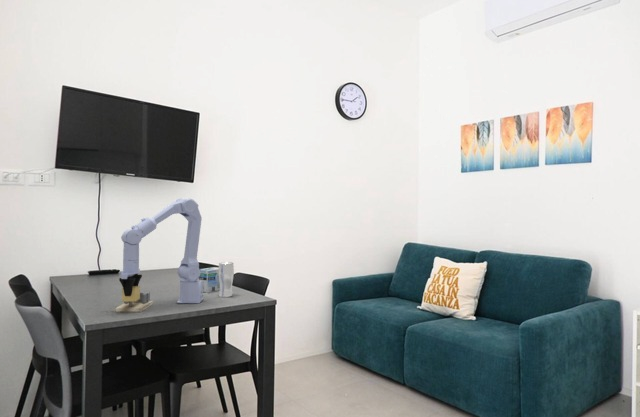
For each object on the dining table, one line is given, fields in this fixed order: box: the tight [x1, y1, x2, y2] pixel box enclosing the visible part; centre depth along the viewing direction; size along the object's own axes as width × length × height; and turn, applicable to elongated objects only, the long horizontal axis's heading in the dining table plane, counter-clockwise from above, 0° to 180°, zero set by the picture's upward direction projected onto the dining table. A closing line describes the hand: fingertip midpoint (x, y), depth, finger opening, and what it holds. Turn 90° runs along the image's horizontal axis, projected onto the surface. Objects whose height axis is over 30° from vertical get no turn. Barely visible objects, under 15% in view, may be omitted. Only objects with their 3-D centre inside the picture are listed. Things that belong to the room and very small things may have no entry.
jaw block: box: [121, 285, 141, 302], centre depth 172 cm, size 5×5×5 cm
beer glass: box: [217, 261, 235, 298], centre depth 200 cm, size 7×7×15 cm
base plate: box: [114, 300, 154, 313], centre depth 175 cm, size 10×13×4 cm
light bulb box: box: [198, 266, 220, 294], centre depth 213 cm, size 11×7×11 cm, turn 147°
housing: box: [123, 291, 151, 304], centre depth 178 cm, size 9×5×4 cm, turn 94°
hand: (130, 294), depth 172 cm, fingers closed on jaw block, 5 cm apart
